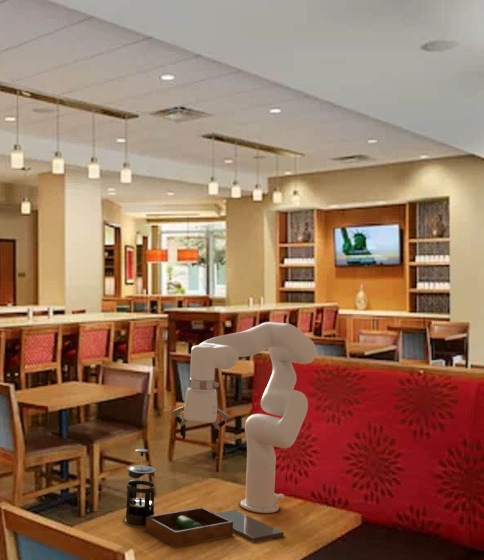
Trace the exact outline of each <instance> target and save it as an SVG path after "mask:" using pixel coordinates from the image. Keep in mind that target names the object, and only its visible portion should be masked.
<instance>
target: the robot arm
mask: <svg viewBox="0 0 484 560" xmlns="http://www.w3.org/2000/svg"><path fill="white" fill-rule="evenodd" d="M266 350H268V353H269V357H270V361H271V365H272V371H271V375H270V378H269V381H268V383H267V386H266V387H265V388H264V392H263V394H262V396H261V399H260V408H261V409H262V411H264V412H266V413H267V414H264V413H253V414H250V416H248V417H247V419H246V420H245V423H244V434H245V439H246V473H245V497H244V498H243V499H241V501H240V506H241V508H242V509H245V510H247V511H249V512H254V513H260V514H270V513H276V512H278V511H279V509H280V506H279V504H278V503H277V502H278V501H282V500H285V494H283V493H278V494H277V493H276V492H275V491H276V489H275V487H276V463H277V456H276V452H275V449H274V448H275V447H276V448H279V449H289V448H291V447H292V446H293V445H294V443H295V442H296V440H297V438H298V436H299V433H300V430H301V428H302V426H303V423H304V421H305V419H306V416H307V413H308V409H309V401H308V398H307V396H306V394H305V393H303V392H302V391H299V390H296V389H294V388H295V385H296V383H297V373H296V370H295V368H294V366H293V363H295V364H301V365H308V364H311V363H312V362H313V361H314V360H315V359H316V357H317V347H316V345H315V343H314V341H313V340H312V339H311V338H310V337H309V336H307V335H306V334H305V333H304V331H302V330H300V329H299V328H298V327H296V326H295V325H293V324H291V323H289V322H288V323H286V322H277V321H266V322H265V321H264V322H262V323H260V324H257V325H255V326H253V327H250V328H248V329H246V330H243V331H238V332H233V333H229V334H228V333H227V334H222V335H217V336H214V337H211V338H209V339H206V340H204V341H202V342H201V343H199V344H196V345H193V346H192V347H191V350H190V351H191V352H190V369H189V370H190V371H189V387H187V388H186V392H185V398H184V405H183V406H180V407H178V408H176V409H173V410H172V414H173V417H174V419H175V421H176V422H177V423H178V424H179V425H180V436H182V440H185V439H186V434H187V433H186V432H187V425H186V424H187V422H195V423H196V422H197V423H207V424H212V425H213V426H214V428H213V442H214V443H217V440H219V439H220V437H219V435H220V429H221V428H223V426H225V424H226V423H227V421H228V419H229V417H230V415H229V414H227V413H226V412H224V411H223V410H221V409H219V407H218V393H217V389H215V388H219V387H220V383H219V382H217V381H215V375H216V374H215V372H216V369H223V370H229V369H232V368H234V367H235V366H236V365H237V364H238V361H239V358H243V357H252V356H255V355H257V354H259V353H261V352H263V351H266ZM182 412H183V419H182V418H181V416H180V415H179V413H182ZM268 414H270V415H268ZM218 415H219V416H221V417H222V419H221V420H220V421H218V420H217V419H218Z"/></svg>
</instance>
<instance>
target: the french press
mask: <svg viewBox="0 0 484 560" xmlns="http://www.w3.org/2000/svg"><path fill="white" fill-rule="evenodd" d="M149 452H150V450H148V449H147V448H137V449H135V453H139V454H140V457H141V458H140V464H137V465H136V464H135V465H129V466H127V468H126V470H127V471H128V477H129V478H131V479H129V480H128V481H127V483H126V510H125V519H124V521H125V523H127V524H128V525H130V526H136V527H146V517H147V516H153V515H155V491H156V484H155V482H151V481H149V480H142V479H143V476H145V475H151V476H152V477H153V478H155V473H156V472H157V469H156V468H155V467H152V466H149V465H143V457H144V455H145V453H149ZM136 479H137V480H136ZM139 479H140V480H139ZM138 485H139V487H138ZM143 486H148V487H149V488H148V487H147V488H142V487H143ZM137 493H138V494H139V497H137ZM142 494H144V497H142Z"/></svg>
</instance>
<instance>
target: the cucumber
mask: <svg viewBox="0 0 484 560" xmlns="http://www.w3.org/2000/svg"><path fill="white" fill-rule="evenodd" d="M176 524H177V526H178V527H179V528H180V529H182V530H185V529H191V528H196V527H202V526H201V524H200V523H198V522H196V521H194V520H192V519H190V518H188V517H186V516H179V517H178V518H177V520H176Z"/></svg>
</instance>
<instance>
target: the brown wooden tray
mask: <svg viewBox="0 0 484 560" xmlns="http://www.w3.org/2000/svg"><path fill="white" fill-rule="evenodd" d="M215 513H216V512H213V511H212V510H209V509H207V508H205V507H203V506H202V507H201V506H200V507H195V508H189V509H184V510H177V511H170V512H166V513H165V512H164V513H159V514H154V515H153V516H147V517H146V526H145V530H146V531H147V532H148V533H150V534H153V535H154V536H156V537H158V538H160V539H161V540H163V542H164V541H165V542H166V543H168V544H170V545H171V546H173V547H180V546H185V545H189V544H194V543H201V542H204V541H205V542H206V541H211V540H215V539H216V540H217V539H221V538H225V537H230V536H233V535H234V534H233V533H234V532H233V522H232V521H230V520H228V519H226V518H224V517H222V516H220V515H217V514H215ZM179 516H186V517H188V518H190V519H192V520H194V521H196V522H198V523H200V524H201V526H202V527H196V528H191V529H185V530H182V529H180V528H179V527H178V526H177V524H176V520H177V518H178V517H179Z"/></svg>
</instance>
